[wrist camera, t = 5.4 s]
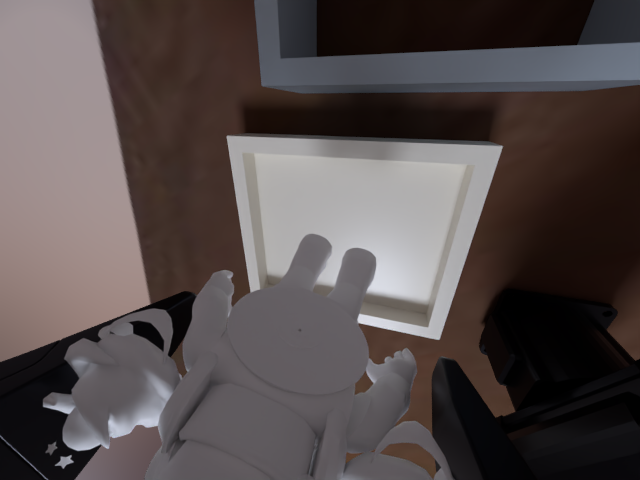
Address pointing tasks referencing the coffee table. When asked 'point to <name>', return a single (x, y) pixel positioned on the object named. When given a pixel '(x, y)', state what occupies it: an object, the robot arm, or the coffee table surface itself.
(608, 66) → the deep square frame
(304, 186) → the tray
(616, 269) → the coffee table surface
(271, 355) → the flower shoulder figurine
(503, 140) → the coffee table surface
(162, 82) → the coffee table surface
